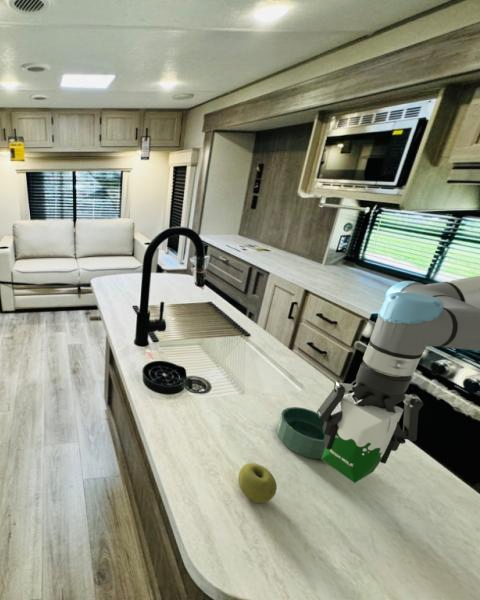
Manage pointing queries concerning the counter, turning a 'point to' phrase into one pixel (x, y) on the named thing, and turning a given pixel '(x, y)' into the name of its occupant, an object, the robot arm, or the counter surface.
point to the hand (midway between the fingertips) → (352, 451)
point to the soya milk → (361, 438)
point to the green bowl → (302, 431)
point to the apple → (257, 483)
